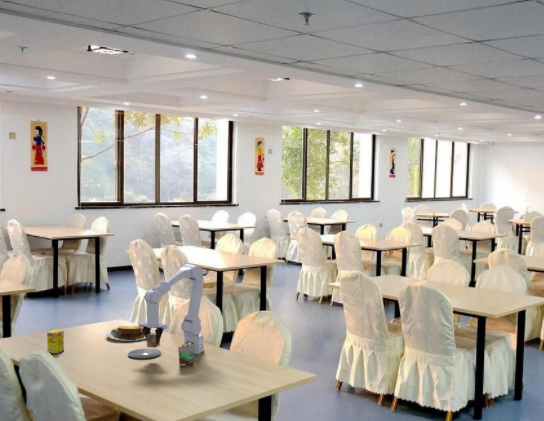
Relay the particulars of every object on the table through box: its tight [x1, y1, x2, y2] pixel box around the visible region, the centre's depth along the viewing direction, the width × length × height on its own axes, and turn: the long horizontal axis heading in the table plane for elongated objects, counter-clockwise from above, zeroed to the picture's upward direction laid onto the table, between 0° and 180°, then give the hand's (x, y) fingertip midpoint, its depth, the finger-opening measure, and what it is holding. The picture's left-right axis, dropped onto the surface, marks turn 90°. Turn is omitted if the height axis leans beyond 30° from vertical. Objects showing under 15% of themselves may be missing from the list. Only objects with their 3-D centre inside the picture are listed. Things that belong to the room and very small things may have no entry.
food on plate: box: [106, 325, 154, 342], centre depth 370 cm, size 25×25×7 cm
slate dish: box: [127, 348, 162, 359], centre depth 334 cm, size 16×16×1 cm
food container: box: [177, 341, 196, 368], centre depth 317 cm, size 12×6×10 cm, turn 168°
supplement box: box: [46, 329, 65, 356], centre depth 338 cm, size 6×6×11 cm
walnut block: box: [146, 332, 161, 349], centre depth 324 cm, size 4×4×6 cm
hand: (153, 342), depth 324 cm, fingers closed on walnut block, 4 cm apart
